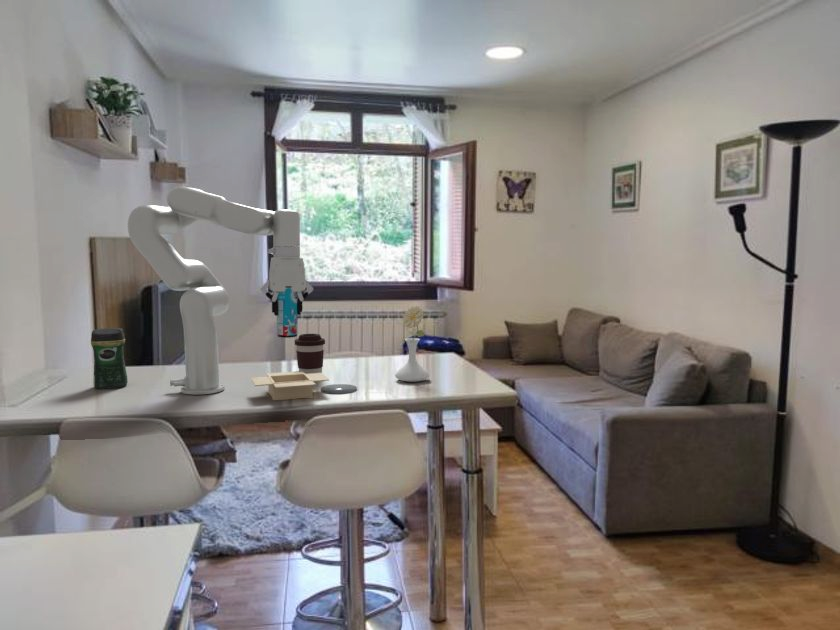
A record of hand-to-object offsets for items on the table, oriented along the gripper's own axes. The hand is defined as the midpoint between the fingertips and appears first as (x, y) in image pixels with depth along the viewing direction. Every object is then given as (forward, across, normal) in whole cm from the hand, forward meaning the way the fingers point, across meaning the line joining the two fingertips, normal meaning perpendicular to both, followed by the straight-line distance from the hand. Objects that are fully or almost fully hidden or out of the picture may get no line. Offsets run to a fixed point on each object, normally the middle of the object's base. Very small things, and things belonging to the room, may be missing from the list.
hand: (287, 314), depth 180 cm
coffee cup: (+24, +11, +20) cm, 33 cm away
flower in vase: (+24, +42, +5) cm, 48 cm away
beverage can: (+7, 0, 0) cm, 7 cm away
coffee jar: (+25, -50, +32) cm, 65 cm away
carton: (+24, +1, 0) cm, 24 cm away
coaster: (+24, +16, +1) cm, 29 cm away
